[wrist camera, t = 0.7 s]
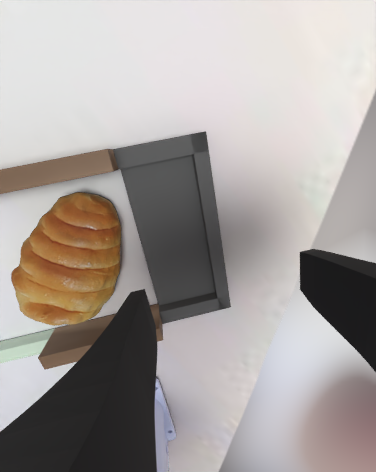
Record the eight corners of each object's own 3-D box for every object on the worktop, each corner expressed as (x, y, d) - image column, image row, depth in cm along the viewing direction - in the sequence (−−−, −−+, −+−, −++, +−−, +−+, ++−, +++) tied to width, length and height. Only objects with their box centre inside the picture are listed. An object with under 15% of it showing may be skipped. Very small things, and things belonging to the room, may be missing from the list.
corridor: (161, 314, 20) (162, 340, 18) (60, 339, 20) (44, 369, 17) (115, 149, 15) (107, 148, 13) (-22, 176, 15) (-63, 181, 12)
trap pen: (226, 298, 21) (230, 307, 20) (161, 314, 20) (162, 323, 19) (202, 132, 16) (205, 131, 15) (115, 149, 15) (112, 149, 14)
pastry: (49, 173, 16) (18, 180, 12) (143, 209, 17) (141, 224, 14) (21, 286, 18) (-11, 319, 15) (106, 308, 20) (96, 342, 16)
